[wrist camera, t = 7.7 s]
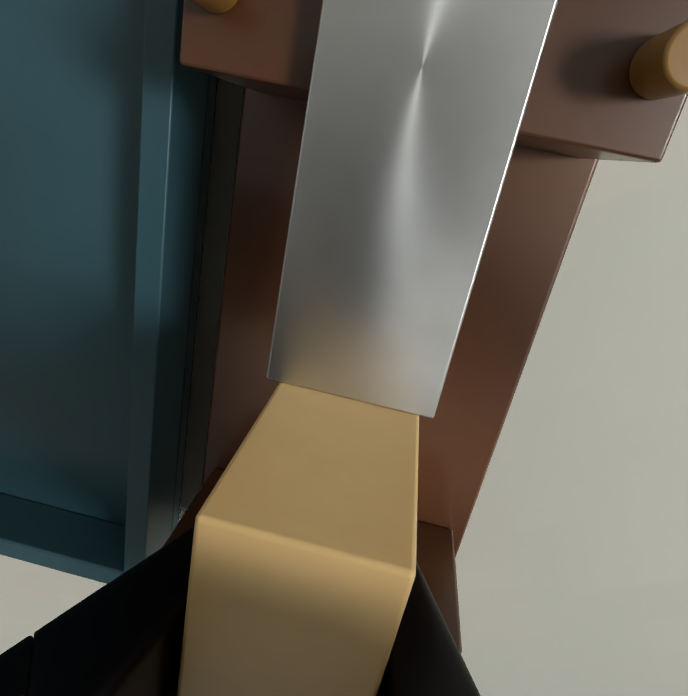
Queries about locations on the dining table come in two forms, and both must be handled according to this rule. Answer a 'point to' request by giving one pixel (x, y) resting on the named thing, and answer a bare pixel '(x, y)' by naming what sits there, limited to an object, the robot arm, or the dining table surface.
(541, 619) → the dining table surface
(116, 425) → the cutlery tray
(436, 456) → the knife rack
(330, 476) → the knife
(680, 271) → the dining table surface
